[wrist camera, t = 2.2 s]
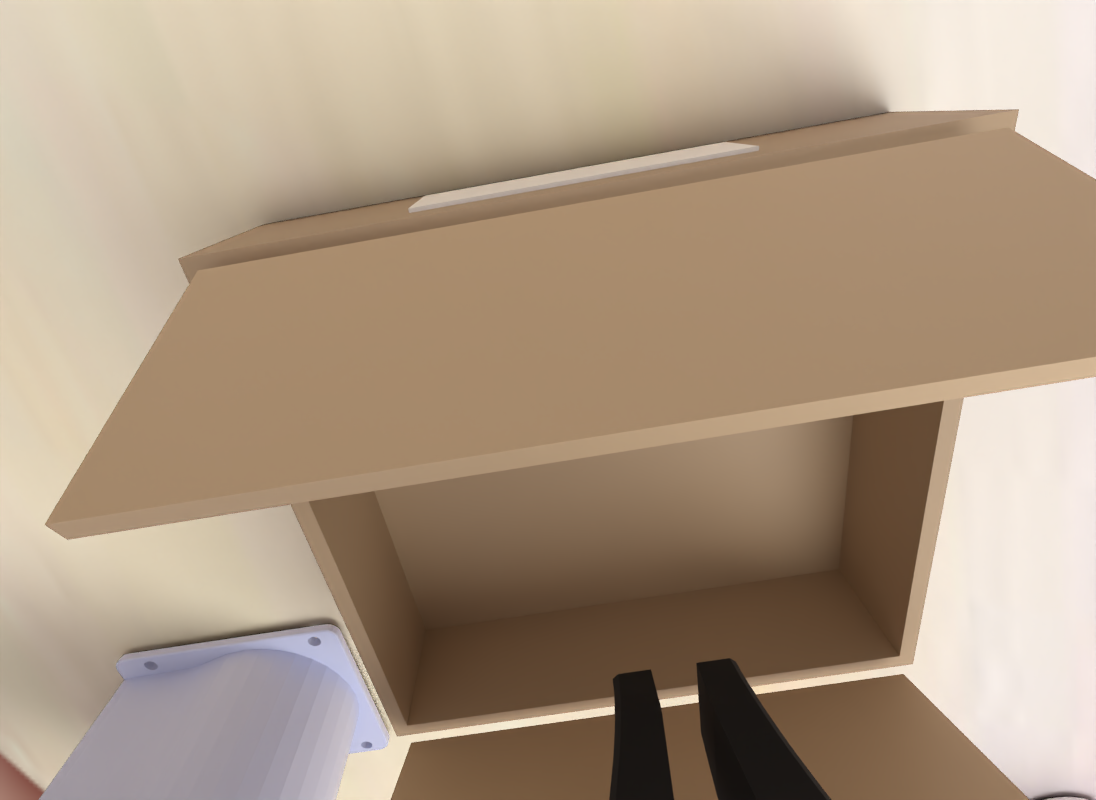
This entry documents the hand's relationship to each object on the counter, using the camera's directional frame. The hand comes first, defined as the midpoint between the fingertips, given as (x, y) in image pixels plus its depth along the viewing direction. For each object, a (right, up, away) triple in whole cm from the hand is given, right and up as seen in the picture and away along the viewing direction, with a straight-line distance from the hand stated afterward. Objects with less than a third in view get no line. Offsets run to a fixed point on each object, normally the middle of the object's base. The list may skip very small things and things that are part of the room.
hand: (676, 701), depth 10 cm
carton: (0, +5, +9) cm, 10 cm away
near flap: (-1, +7, -1) cm, 7 cm away
